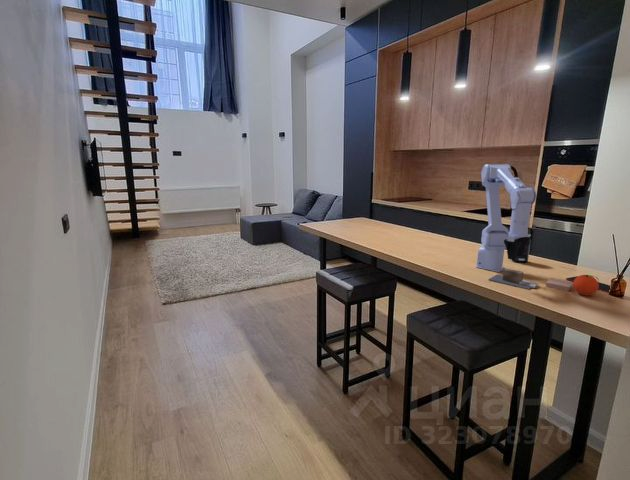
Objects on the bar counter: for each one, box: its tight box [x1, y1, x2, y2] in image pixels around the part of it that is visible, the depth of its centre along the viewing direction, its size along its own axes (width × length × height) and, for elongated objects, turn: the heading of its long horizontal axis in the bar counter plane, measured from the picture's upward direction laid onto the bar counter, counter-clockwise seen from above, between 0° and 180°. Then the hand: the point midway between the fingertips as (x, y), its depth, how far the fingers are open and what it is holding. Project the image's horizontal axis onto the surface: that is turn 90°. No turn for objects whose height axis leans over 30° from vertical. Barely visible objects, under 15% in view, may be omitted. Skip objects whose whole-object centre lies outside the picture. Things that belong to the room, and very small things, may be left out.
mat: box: [487, 274, 536, 291], centre depth 133 cm, size 14×9×1 cm, turn 43°
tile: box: [545, 277, 574, 292], centre depth 128 cm, size 2×7×7 cm
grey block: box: [502, 268, 539, 289], centre depth 130 cm, size 11×4×4 cm, turn 43°
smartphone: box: [565, 275, 611, 293], centre depth 130 cm, size 7×1×15 cm
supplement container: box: [511, 239, 532, 264], centre depth 159 cm, size 7×7×10 cm
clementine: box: [572, 274, 600, 296], centre depth 119 cm, size 8×7×7 cm
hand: (515, 257), depth 131 cm, fingers open, 7 cm apart
